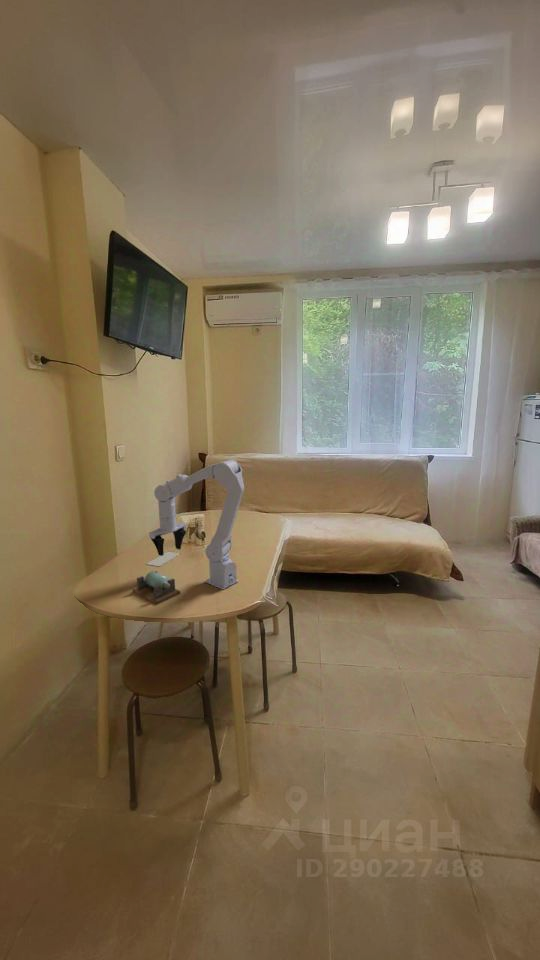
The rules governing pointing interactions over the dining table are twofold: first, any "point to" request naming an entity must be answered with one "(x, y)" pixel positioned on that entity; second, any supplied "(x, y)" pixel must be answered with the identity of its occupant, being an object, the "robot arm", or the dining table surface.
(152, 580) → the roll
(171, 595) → the holder
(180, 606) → the dining table surface
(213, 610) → the dining table surface
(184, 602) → the dining table surface
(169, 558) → the smartphone
